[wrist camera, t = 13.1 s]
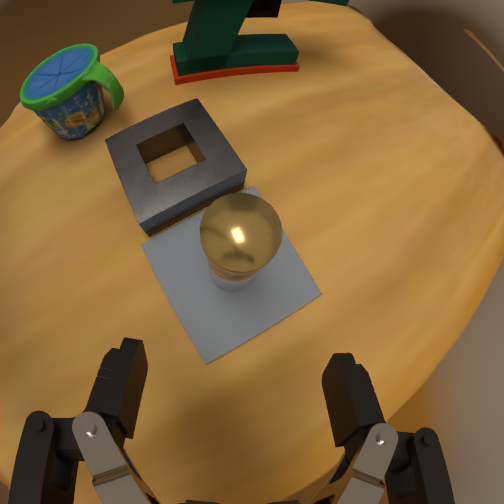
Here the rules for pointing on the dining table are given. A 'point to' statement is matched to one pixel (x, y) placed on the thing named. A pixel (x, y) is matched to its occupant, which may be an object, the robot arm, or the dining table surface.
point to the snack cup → (71, 91)
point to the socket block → (182, 183)
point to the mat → (222, 302)
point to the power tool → (231, 41)
